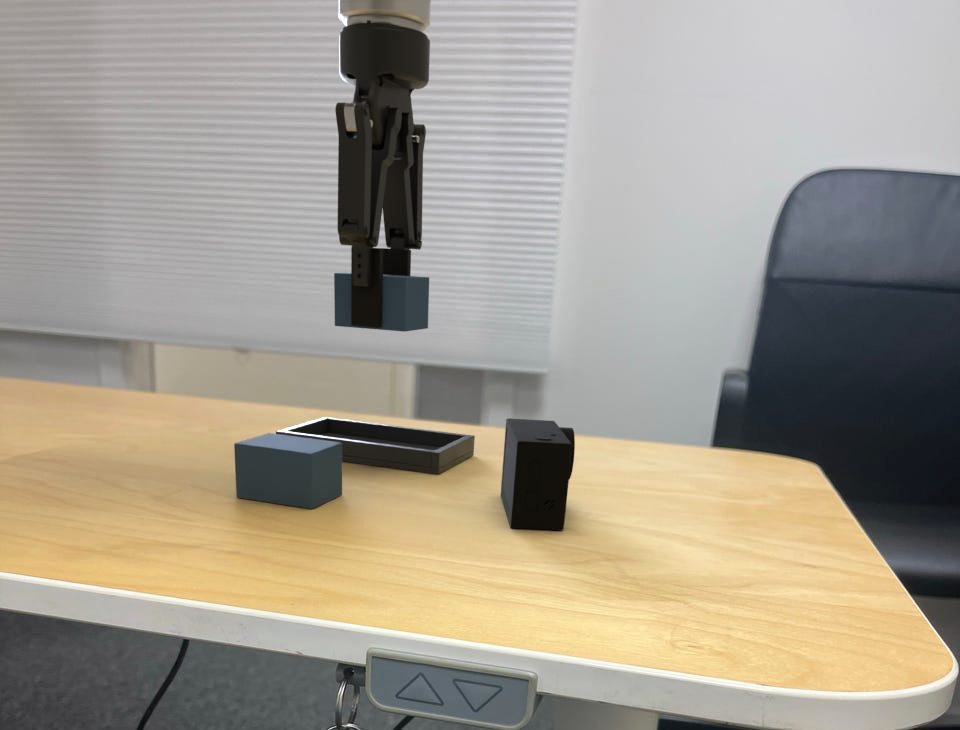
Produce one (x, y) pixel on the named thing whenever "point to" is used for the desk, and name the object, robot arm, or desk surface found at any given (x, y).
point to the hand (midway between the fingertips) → (381, 323)
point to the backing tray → (389, 444)
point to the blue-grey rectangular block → (288, 470)
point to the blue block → (388, 302)
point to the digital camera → (536, 473)
